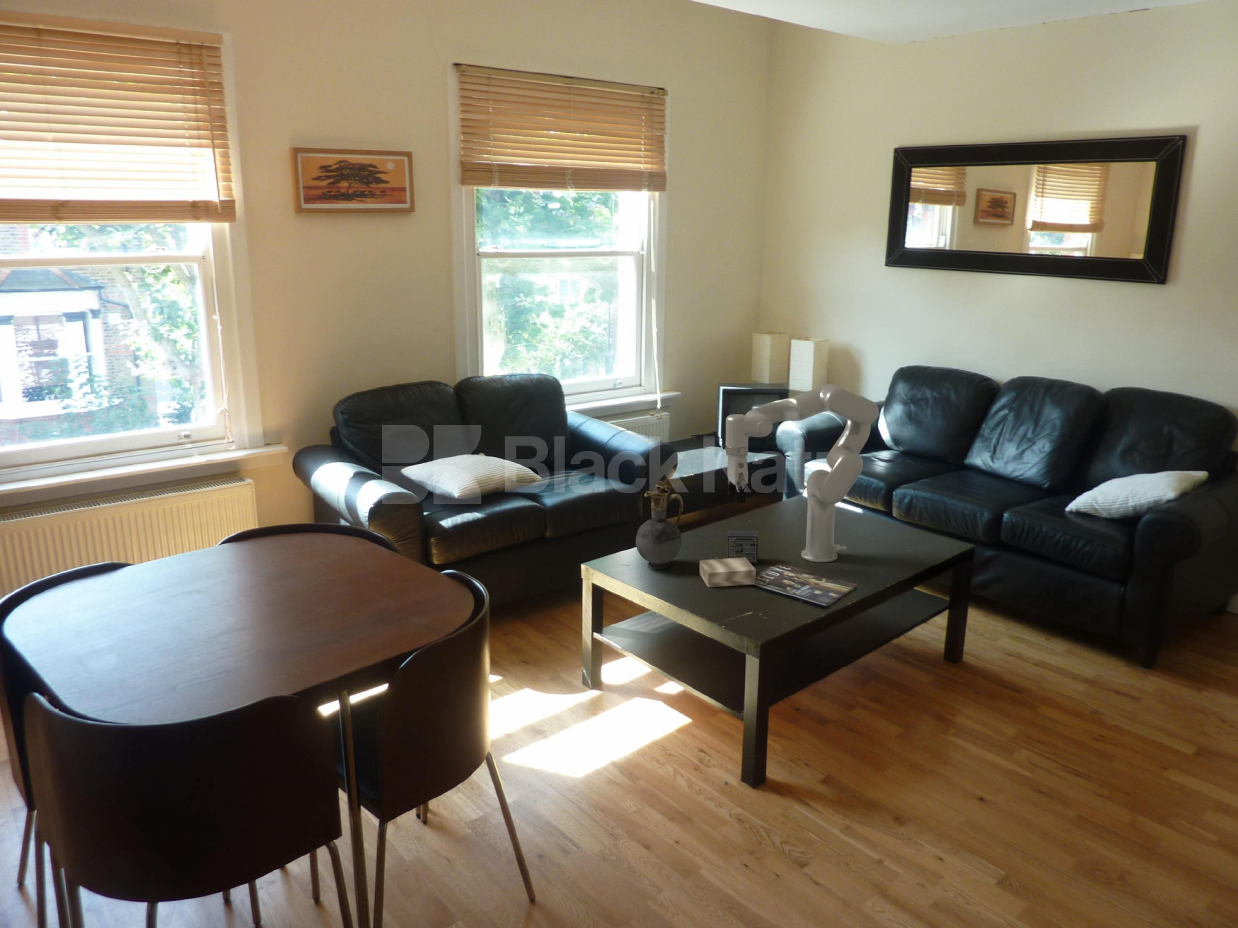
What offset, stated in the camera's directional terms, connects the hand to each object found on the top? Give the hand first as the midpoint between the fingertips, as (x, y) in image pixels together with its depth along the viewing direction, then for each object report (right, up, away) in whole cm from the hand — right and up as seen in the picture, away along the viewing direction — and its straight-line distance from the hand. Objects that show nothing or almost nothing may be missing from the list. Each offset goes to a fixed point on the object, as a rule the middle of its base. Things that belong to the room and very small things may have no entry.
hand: (736, 498), depth 326 cm
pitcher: (-26, -23, +3) cm, 35 cm away
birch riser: (-5, -27, -10) cm, 29 cm away
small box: (+3, -22, +6) cm, 24 cm away
